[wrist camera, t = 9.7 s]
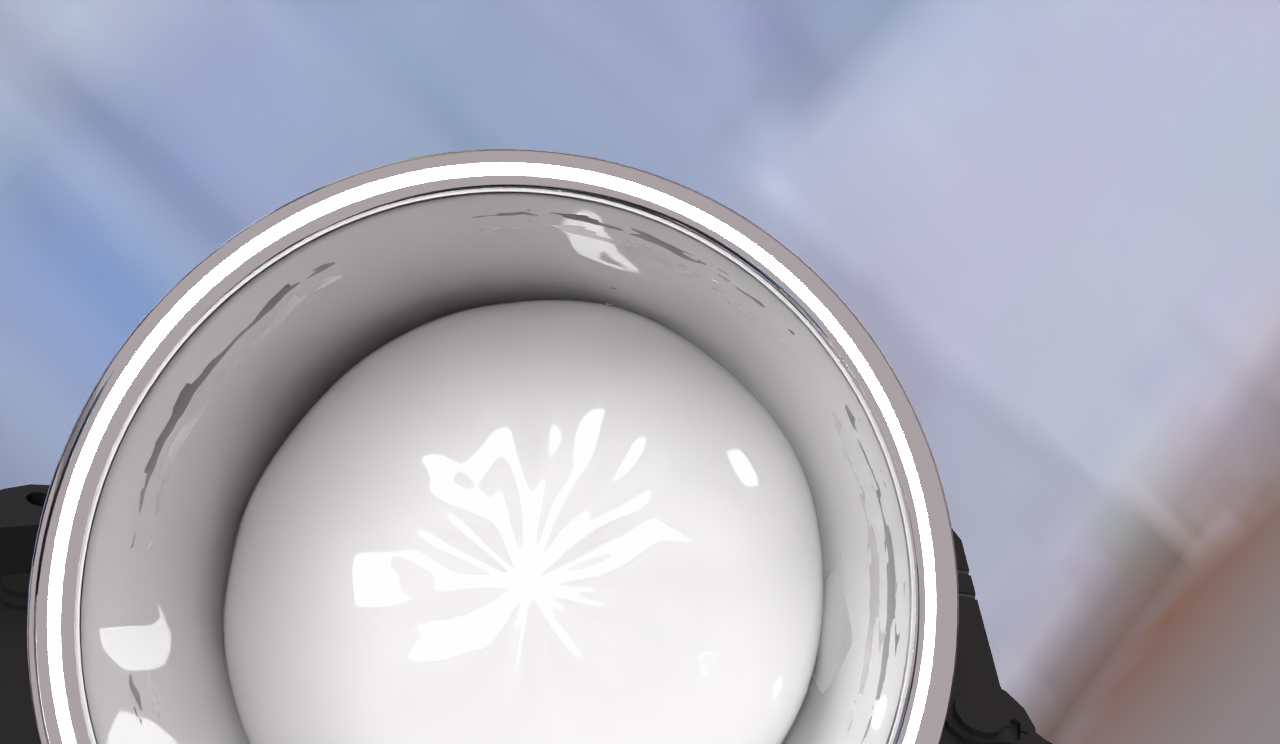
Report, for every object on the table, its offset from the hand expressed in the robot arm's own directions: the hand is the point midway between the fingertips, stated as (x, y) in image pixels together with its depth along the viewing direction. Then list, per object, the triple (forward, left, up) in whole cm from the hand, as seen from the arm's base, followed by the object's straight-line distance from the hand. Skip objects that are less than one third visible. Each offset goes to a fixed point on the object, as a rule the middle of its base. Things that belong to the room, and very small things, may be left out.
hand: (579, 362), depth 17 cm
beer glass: (-2, -3, -6) cm, 7 cm away
